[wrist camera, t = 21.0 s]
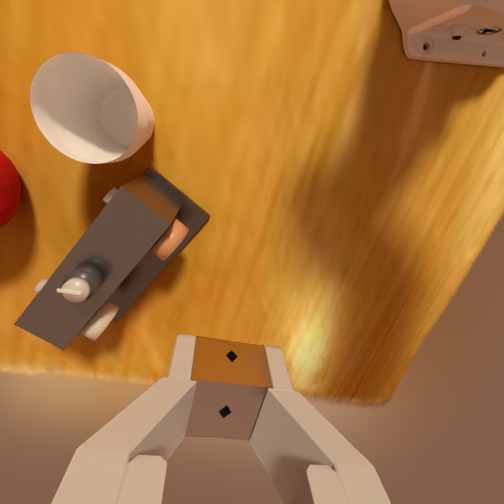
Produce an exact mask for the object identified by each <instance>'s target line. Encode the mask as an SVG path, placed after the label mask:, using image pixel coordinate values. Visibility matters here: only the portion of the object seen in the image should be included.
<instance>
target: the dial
mask: <svg viewBox="0 0 504 504" xmlns="http://www.w3.org/2000/svg"><path fill="white" fill-rule="evenodd" d="M103 283H104V274H103V272H102V270H101V269H100V268H99V267H97V266H96V265H93V264H90V263H83V264H80V265H78V266H77V267H76V268H75V269H74V270H72V271H71V272H70V273H69V274H68V275H67V276H66V277H65V278H64V279H63V282H62V288H61V289H59V288H58V289H57V292H60V293H62V295H63V296H64V298H66V299H67V300H68V301H71V302H76V303H77V302H82V301H84V300H88V299H90V298H91V297H93V296H94V294H95V293H96V292H97V291H98V289H99V288H100V287H101V285H102V284H103Z"/></svg>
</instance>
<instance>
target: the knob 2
mask: <svg viewBox="0 0 504 504" xmlns="http://www.w3.org/2000/svg"><path fill="white" fill-rule="evenodd" d="M117 190H118V189H116V188H115V187H114V188H112V189H111V190H110V191H109V192H108V193H107V194H106V196H105V197H104V199H103V201H104V202H105V203H108V202H109V201H110V199H111V198H112V197H113V195H114V194H115V193H116V192H117ZM188 231H189V228H187V227H186V226H185V225H184V224H182V223H181V222H180V221H178V220H177V219H176V218H175V219H174V220H173V221H172V223H171V225H170V226H169V227H168V228H167V230H166V231H165V232H164V233H163V234H162V235H161V237H160V238H159V239H158V240H157V241H156V242H155V244H154V245H153V246H152V247H151V248H150V250H149V251H150V252H152V253H153V254H154V255H156V256H157V257H159V258H160V259H161V260H163V261H164V260H166V259H167V258H168V257H169V256H170V255H171V254H172V253H173V251H174V250H175V249H176V248H177V247H178V245H179V244H180V243H181V242H182V240H183V239H184V237H185V236H186V234H187V233H188Z"/></svg>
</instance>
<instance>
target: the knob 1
mask: <svg viewBox="0 0 504 504" xmlns="http://www.w3.org/2000/svg"><path fill="white" fill-rule="evenodd" d="M47 281H48V279H47V278H44V279H43V280H42V281H41V282H40V283H39V284H38V285H37V286H36V287H35V289H34V290H33V291H34V292H35V293H37V294H38V293H39V291H40V290H41V289H42V287H43V286H44V285H45V283H46V282H47ZM118 310H119V307H117V306H115V305H114V304H112V303H110V302H109V301H107V300H106V301H105V302H104V303H103V304H102V306H101V307H100V308H99V309H98V310H97V311H96V313H95V314H94V315H93V316H92V317H91V319H90V320H89V321H88V322H87V323H86V324H85V326H84V327H83V328H82V330H81V331H80V334H82V335H84V336H86V337H88V338H89V339H91V340H93V341H95V340H96V339H97V338H98V337H99V336H100V334H101V333H102V332H103V331H104V330H105V328H106V327H107V326H108V324H109V323H110V322H111V320H112V319H113V318H114V316H115V315H116V313H117V311H118Z"/></svg>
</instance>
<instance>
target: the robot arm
mask: <svg viewBox="0 0 504 504" xmlns="http://www.w3.org/2000/svg"><path fill="white" fill-rule="evenodd" d="M389 4H390V7H391V10H392V12H393V14H394V16H395V18H396V20H397V22H398V24H399V26H400V28H401V31H402V40H403V47H404V52H405V55H406V56H407V57H408V58H409V59H413V60H424V61H435V62H446V63H457V64H468V65H479V66H490V67H504V0H389ZM424 44H425V45H426V50H424V49H423V45H424ZM185 436H199V437H219V438H229V439H240V440H249V443H250V444H251V446H252V448H253V450H254V451H255V453H256V455H257V457H258V458H259V460H260V462H261V463H262V465H263V467H264V469H265V470H266V472H267V474H268V476H269V477H270V479H271V481H272V482H273V484H274V486H275V487H276V489H277V491H278V493H279V495H280V496H281V498H282V500H283V501H284V503H285V504H391V503H390V501H389V499H388V496H387V494H386V492H385V490H384V488H383V486H382V483H381V481H380V479H379V477H378V475H377V473H376V471H375V468H374V467H373V465H371V464H370V462H369V461H368V460H367V459H366V458H365V457H364V456H362V455H361V453H360V452H359V451H358V450H357V449H356V448H354V447H353V446H352V444H350V442H348V440H347V439H345V437H344V436H342V434H341V433H340V432H339V431H338V430H336V428H335V427H334V426H333V425H332V424H331V423H330V422H329V421H327V419H326V418H324V416H322V414H320V412H319V411H318V410H317V409H316V408H315V407H314V406H313V405H312V404H311V403H310V402H309V401H308V400H307V399H306V398H305V397H304V396H303V395H302V394H301V393H300V392H297V391H294V390H293V387H292V384H291V380H290V377H289V373H288V370H287V367H286V363H285V360H284V356H283V353H282V350H281V348H280V347H279V346H270V345H256V344H249V343H241V342H233V341H227V340H221V339H215V338H208V337H202V336H195V335H188V334H181V333H178V334H177V337H176V341H175V346H174V351H173V355H172V360H171V364H170V369H169V373H168V378H165V377H161V378H160V379H159V380H158V381H157V382H155V383H154V384H153V385H152V386H151V387H149V388H148V389H147V390H146V391H145V392H144V393H142V394H141V395H140V396H139V397H138V398H136V399H135V400H134V401H133V402H132V403H131V404H129V405H128V406H127V407H126V408H125V409H123V410H122V411H121V412H120V413H119V414H118V415H116V416H115V417H114V418H113V419H112V420H110V421H109V422H108V423H107V424H106V425H105V426H103V427H102V428H101V429H100V430H99V431H97V432H96V433H95V434H94V435H93V436H91V437H90V438H89V439H88V440H87V441H86V442H85V443H84V444H82V445H81V446H80V447H78V448H77V450H76V452H75V454H74V456H73V458H72V461H71V463H70V465H69V467H68V469H67V471H66V474H65V476H64V478H63V480H62V482H61V484H60V486H59V488H58V491H57V493H56V495H55V497H54V499H53V501H52V504H161V501H162V494H163V488H164V481H165V475H166V469H167V461H168V460H169V459H170V457H171V456H172V455H173V453H174V452H175V450H176V449H177V448H178V446H179V445H180V443H181V442H182V441H183V439H184V437H185Z"/></svg>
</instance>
